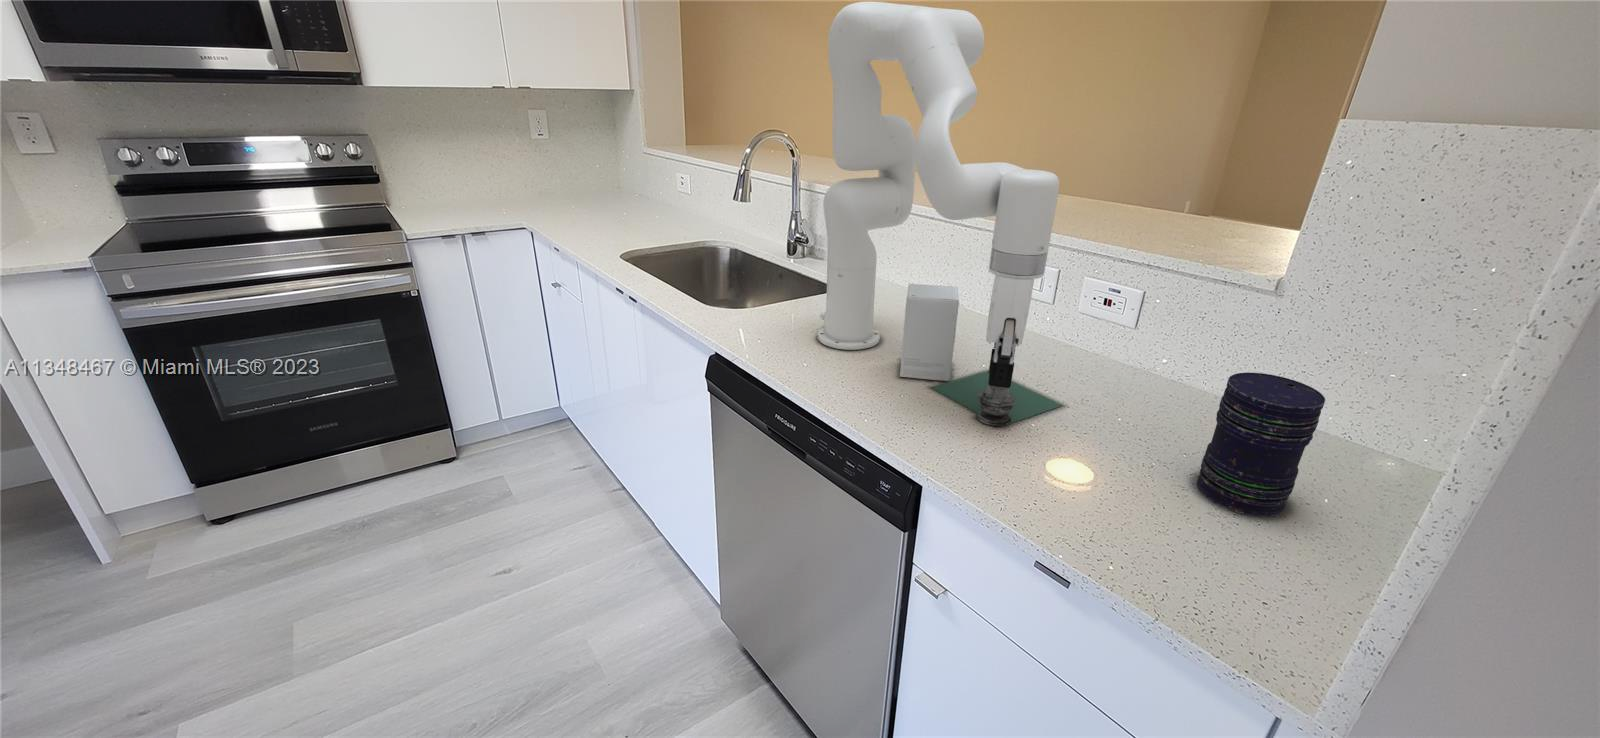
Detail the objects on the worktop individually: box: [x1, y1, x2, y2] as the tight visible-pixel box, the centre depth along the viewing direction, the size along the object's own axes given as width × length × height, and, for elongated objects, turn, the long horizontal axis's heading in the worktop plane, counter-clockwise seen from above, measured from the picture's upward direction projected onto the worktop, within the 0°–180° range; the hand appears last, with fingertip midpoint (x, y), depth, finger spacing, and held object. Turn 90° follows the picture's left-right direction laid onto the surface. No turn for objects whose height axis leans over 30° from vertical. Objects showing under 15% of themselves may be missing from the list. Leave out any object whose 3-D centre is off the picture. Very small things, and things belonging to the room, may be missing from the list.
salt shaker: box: [975, 355, 1016, 427], centre depth 98 cm, size 6×6×12 cm
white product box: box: [899, 283, 960, 382], centre depth 115 cm, size 9×9×15 cm
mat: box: [930, 370, 1063, 428], centre depth 108 cm, size 16×14×1 cm
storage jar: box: [1196, 372, 1326, 518], centre depth 80 cm, size 10×10×15 cm
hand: (999, 379), depth 98 cm, fingers closed on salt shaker, 3 cm apart
